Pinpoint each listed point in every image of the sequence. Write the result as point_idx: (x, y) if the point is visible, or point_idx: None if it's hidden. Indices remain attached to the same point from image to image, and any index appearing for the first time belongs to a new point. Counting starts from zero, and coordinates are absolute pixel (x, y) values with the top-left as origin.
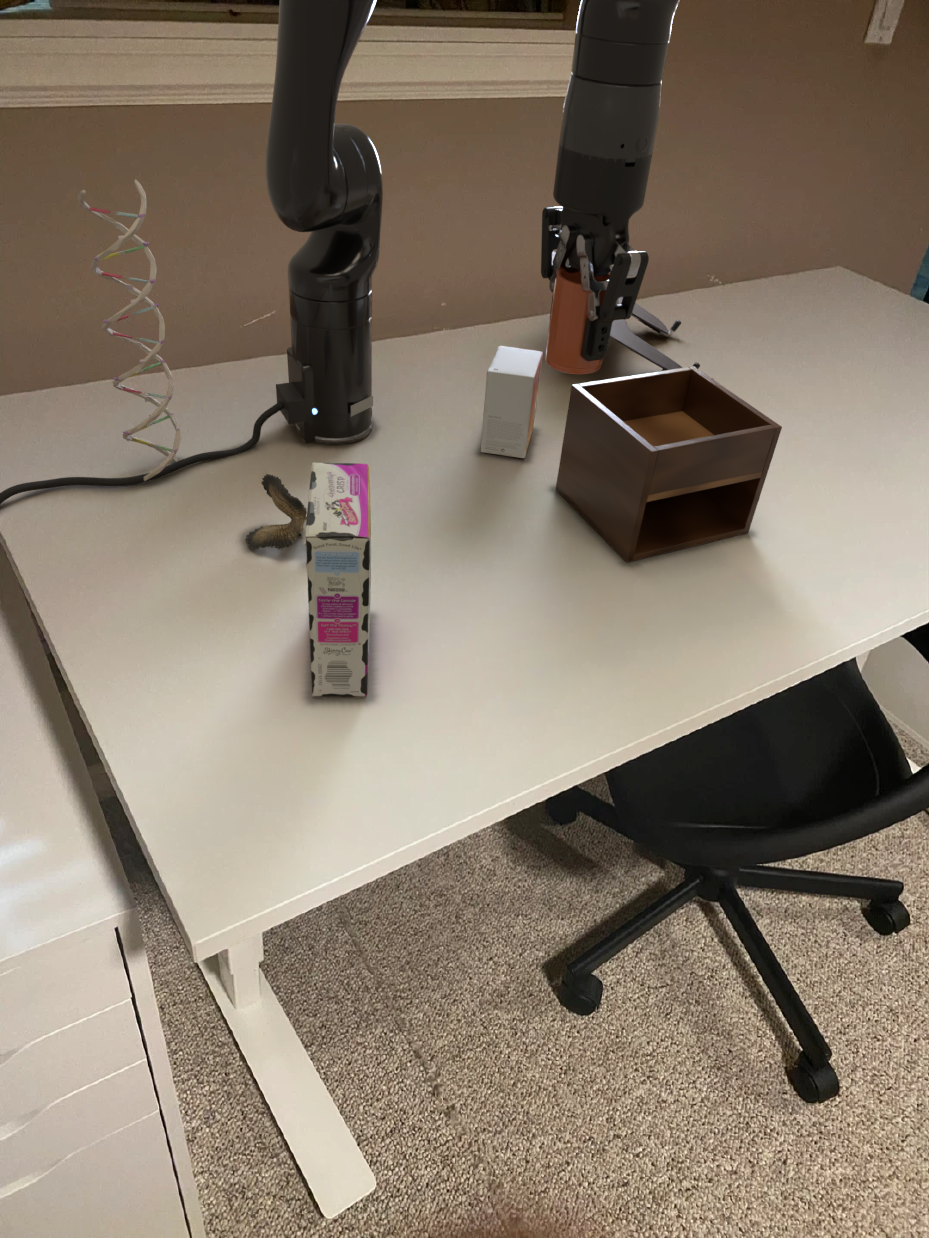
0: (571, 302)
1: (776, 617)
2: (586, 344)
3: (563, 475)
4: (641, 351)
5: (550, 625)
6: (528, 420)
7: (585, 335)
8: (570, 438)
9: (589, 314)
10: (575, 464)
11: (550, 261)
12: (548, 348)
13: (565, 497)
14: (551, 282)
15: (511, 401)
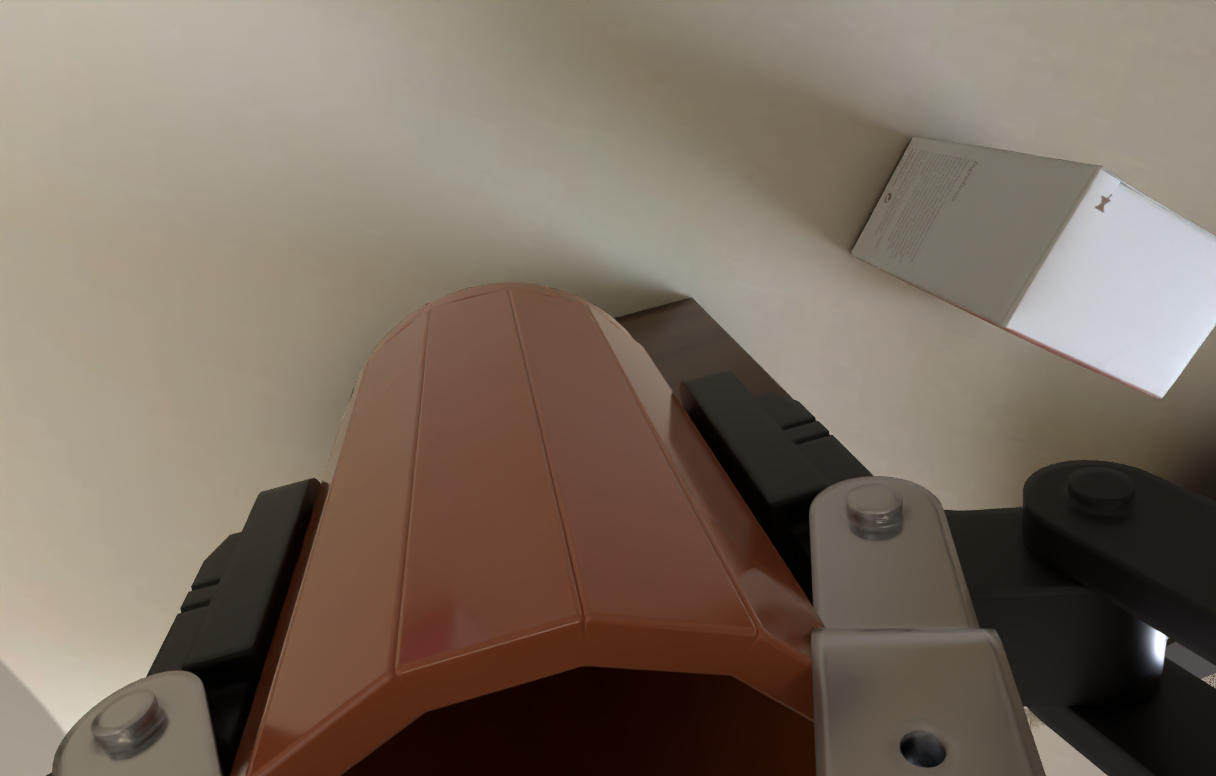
0: (309, 606)
1: (144, 636)
2: (240, 543)
3: (683, 322)
4: (1166, 656)
5: (59, 114)
6: (912, 281)
7: (255, 568)
8: (713, 366)
9: (138, 703)
10: (651, 356)
11: (1150, 610)
12: (502, 308)
13: (645, 312)
14: (913, 515)
15: (976, 238)
